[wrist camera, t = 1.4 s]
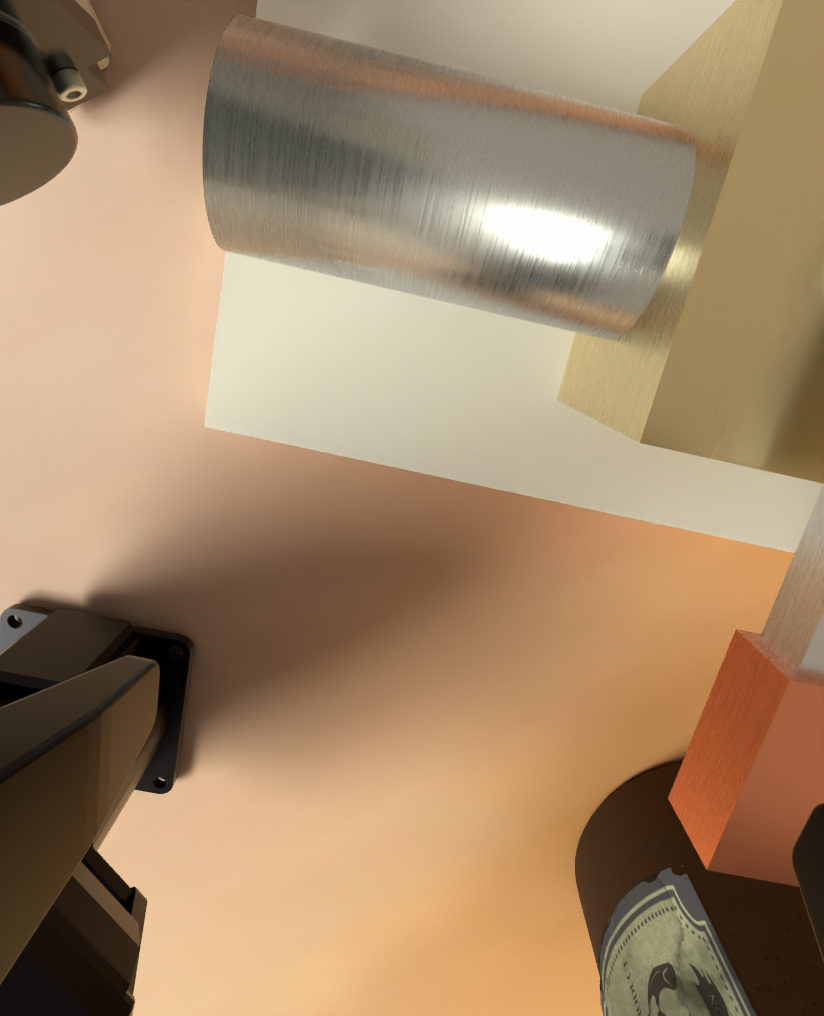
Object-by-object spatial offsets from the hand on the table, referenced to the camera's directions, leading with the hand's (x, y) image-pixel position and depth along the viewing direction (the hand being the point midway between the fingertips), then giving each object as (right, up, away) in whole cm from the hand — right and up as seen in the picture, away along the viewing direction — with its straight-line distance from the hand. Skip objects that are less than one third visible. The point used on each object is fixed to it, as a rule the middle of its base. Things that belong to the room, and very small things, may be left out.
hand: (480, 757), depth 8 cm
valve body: (+8, +9, +9) cm, 15 cm away
